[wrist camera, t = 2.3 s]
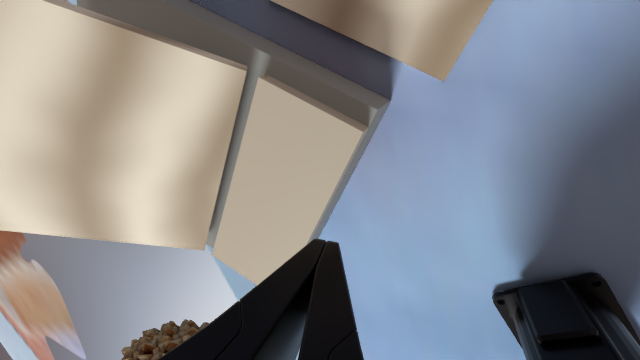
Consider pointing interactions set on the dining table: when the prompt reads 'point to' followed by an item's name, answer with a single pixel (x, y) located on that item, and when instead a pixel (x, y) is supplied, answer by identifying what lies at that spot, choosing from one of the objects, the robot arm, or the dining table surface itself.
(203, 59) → the board
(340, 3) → the plank
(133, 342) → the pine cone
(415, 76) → the dining table surface
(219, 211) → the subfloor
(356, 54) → the dining table surface
